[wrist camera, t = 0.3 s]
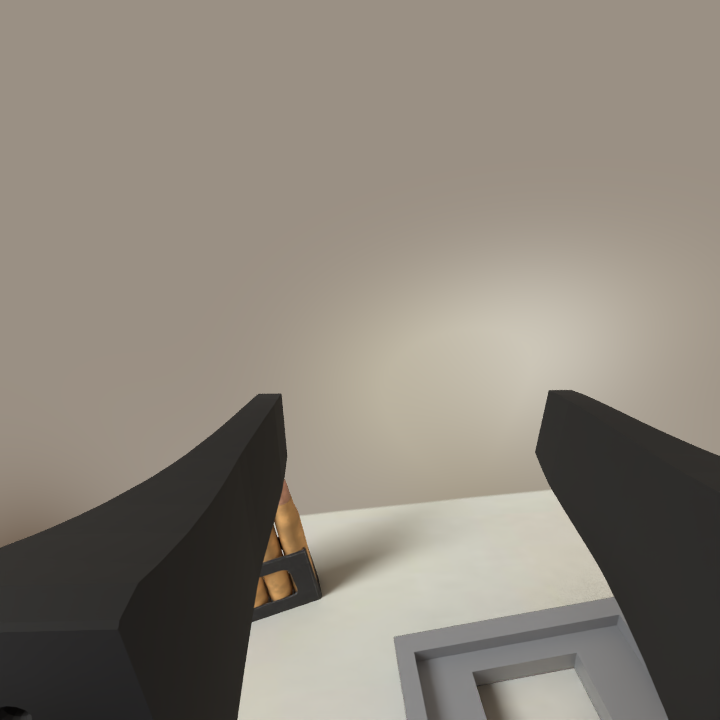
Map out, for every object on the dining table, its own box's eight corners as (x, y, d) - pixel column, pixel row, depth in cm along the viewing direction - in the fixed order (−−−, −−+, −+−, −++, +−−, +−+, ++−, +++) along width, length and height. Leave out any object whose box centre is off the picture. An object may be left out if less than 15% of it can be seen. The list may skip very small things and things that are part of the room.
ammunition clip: (318, 576, 31) (285, 450, 26) (322, 598, 30) (288, 468, 24) (171, 624, 29) (103, 498, 24) (167, 651, 28) (94, 522, 22)
